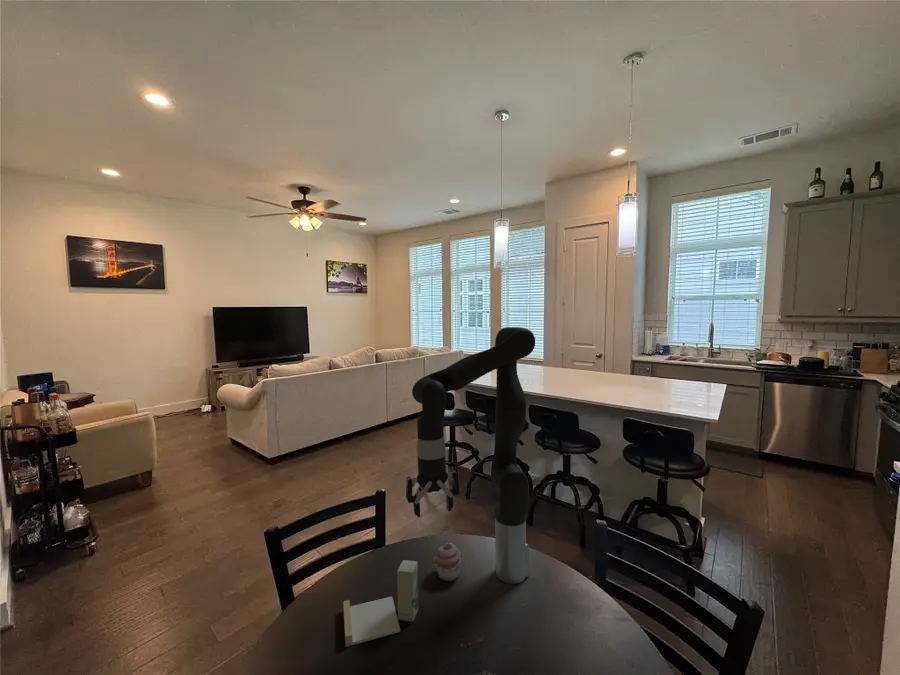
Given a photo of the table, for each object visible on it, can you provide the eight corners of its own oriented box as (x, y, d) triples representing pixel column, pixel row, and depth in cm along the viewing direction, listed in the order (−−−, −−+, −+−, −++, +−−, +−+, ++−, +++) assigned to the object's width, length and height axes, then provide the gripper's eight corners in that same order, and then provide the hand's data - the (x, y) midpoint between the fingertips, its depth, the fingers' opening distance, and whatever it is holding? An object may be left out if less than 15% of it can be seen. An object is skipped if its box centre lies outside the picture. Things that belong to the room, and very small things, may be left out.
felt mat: (392, 598, 103) (392, 589, 103) (400, 631, 91) (400, 622, 91) (343, 610, 99) (343, 601, 98) (345, 647, 87) (345, 636, 87)
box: (413, 622, 94) (412, 573, 94) (397, 620, 95) (396, 571, 95) (419, 607, 99) (418, 560, 99) (403, 605, 100) (402, 558, 100)
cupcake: (430, 583, 108) (430, 550, 108) (436, 563, 118) (436, 533, 117) (462, 587, 107) (461, 553, 107) (465, 566, 116) (465, 535, 116)
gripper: (452, 445, 104) (454, 502, 105) (402, 452, 100) (405, 511, 100) (461, 454, 97) (463, 514, 97) (407, 462, 93) (410, 525, 93)
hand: (433, 512), depth 99 cm, fingers open, 8 cm apart
